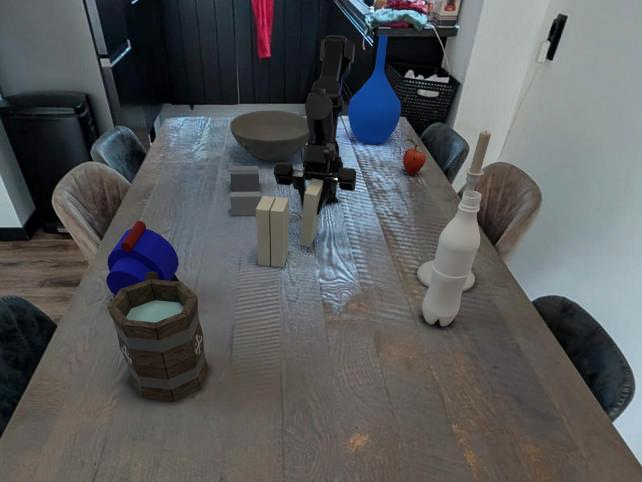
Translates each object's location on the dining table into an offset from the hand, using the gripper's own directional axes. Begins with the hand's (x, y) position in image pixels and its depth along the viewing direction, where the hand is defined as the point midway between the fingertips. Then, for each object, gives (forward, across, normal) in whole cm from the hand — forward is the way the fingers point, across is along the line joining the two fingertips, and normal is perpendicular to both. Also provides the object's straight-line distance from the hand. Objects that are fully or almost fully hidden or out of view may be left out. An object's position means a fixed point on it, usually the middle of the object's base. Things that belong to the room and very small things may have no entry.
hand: (310, 213), depth 110 cm
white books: (+11, -7, +1) cm, 13 cm away
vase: (-53, +10, +65) cm, 84 cm away
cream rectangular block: (+4, -1, +6) cm, 7 cm away
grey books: (-11, -22, +23) cm, 34 cm away
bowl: (-35, -21, +48) cm, 63 cm away
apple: (-32, +25, +44) cm, 60 cm away
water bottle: (+23, +30, -11) cm, 39 cm away
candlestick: (+11, +32, +1) cm, 34 cm away
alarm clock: (+26, -30, -14) cm, 42 cm away
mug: (+40, -19, -28) cm, 52 cm away
